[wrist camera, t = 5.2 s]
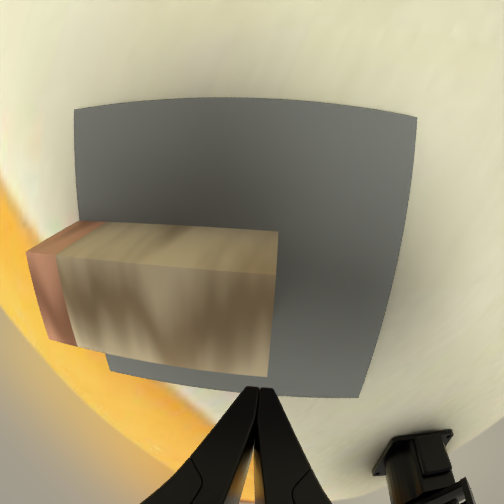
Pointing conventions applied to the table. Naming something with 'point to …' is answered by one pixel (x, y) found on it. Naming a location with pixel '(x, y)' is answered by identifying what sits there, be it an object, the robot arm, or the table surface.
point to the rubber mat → (266, 215)
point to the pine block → (160, 293)
